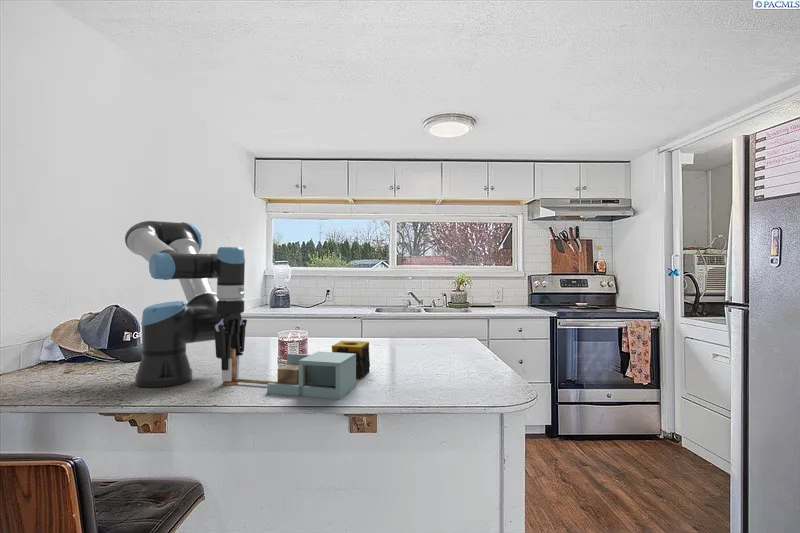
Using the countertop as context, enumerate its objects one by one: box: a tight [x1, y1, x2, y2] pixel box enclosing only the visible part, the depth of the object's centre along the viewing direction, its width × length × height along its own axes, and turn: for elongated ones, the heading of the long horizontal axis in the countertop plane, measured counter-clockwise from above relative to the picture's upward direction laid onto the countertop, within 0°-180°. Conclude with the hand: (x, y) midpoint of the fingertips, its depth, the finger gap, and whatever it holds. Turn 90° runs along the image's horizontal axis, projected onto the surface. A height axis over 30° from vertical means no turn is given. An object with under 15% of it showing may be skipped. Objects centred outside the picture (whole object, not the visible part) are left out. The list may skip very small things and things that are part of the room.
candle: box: [331, 340, 371, 380], centre depth 143 cm, size 10×10×10 cm
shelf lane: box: [266, 351, 357, 400], centre depth 126 cm, size 21×12×10 cm, turn 76°
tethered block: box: [222, 348, 308, 386], centre depth 130 cm, size 25×6×10 cm, turn 76°
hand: (230, 379), depth 132 cm, fingers closed on tethered block, 3 cm apart
